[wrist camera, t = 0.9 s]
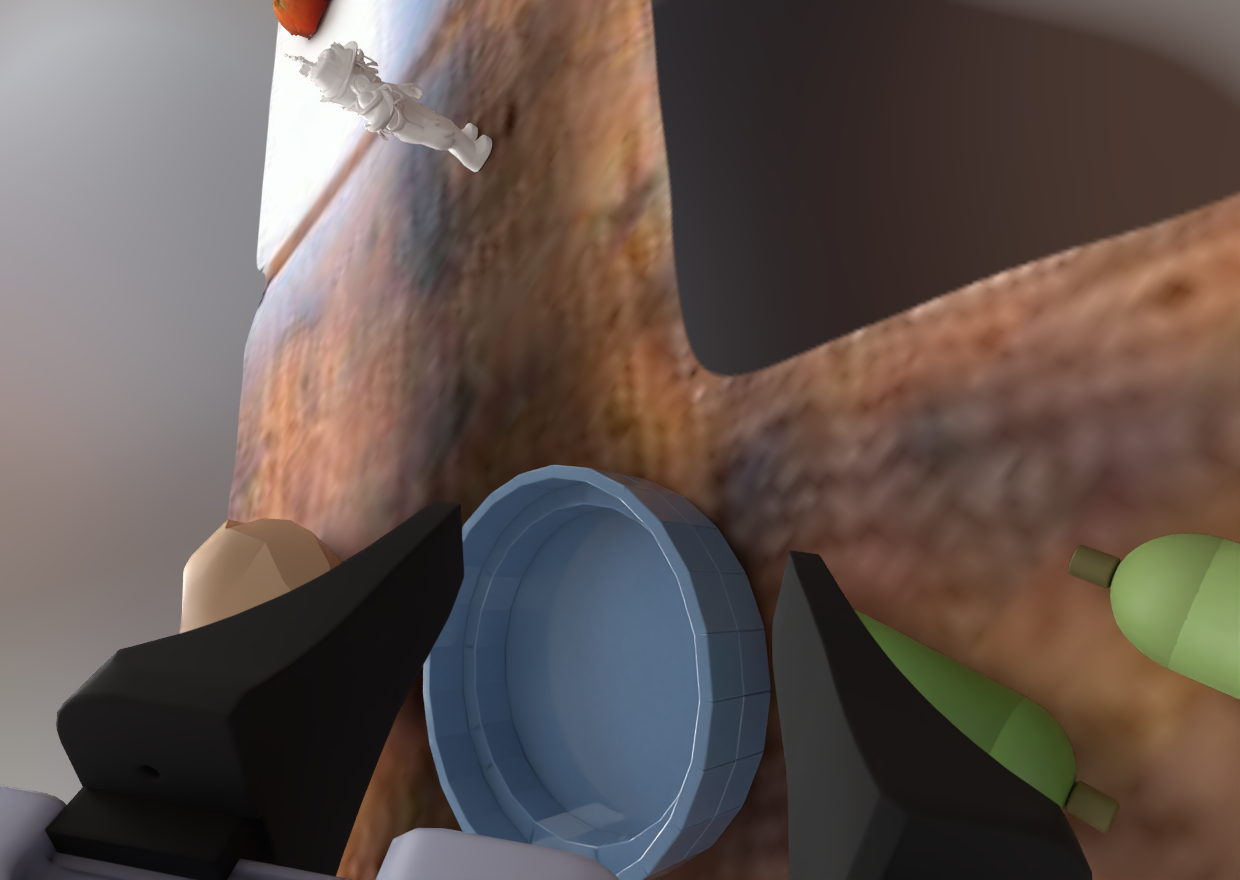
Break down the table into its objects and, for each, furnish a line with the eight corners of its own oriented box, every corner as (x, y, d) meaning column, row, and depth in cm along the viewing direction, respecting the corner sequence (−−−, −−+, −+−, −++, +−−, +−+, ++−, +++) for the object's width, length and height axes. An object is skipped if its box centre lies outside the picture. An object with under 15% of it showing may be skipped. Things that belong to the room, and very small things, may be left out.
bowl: (841, 568, 26) (782, 564, 23) (685, 972, 27) (609, 1023, 24) (557, 434, 38) (491, 418, 34) (459, 722, 39) (386, 734, 36)
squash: (306, 506, 57) (195, 479, 49) (461, 612, 45) (347, 598, 38) (247, 630, 56) (126, 621, 48) (390, 771, 44) (259, 787, 37)
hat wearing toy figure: (438, 149, 51) (271, 57, 42) (464, 101, 50) (297, -5, 41) (484, 204, 46) (304, 112, 37) (515, 152, 45) (335, 43, 36)
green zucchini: (1148, 746, 19) (1132, 770, 17) (1097, 861, 20) (1075, 902, 17) (831, 587, 26) (784, 586, 23) (797, 674, 26) (747, 683, 24)
